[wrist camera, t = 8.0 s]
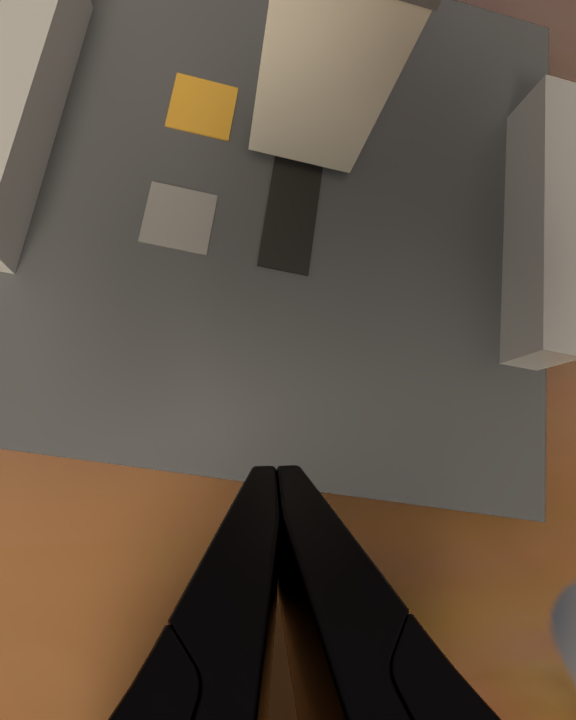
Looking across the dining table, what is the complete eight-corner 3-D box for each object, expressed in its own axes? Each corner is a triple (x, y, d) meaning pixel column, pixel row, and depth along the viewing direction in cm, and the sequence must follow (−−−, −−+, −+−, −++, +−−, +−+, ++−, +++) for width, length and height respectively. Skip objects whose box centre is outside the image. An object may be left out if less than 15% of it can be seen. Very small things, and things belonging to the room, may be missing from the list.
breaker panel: (523, 518, 23) (599, 532, 18) (-83, 436, 19) (-170, 429, 14) (531, 49, 29) (589, -23, 25) (81, -81, 25) (56, -193, 21)
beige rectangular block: (351, 175, 23) (449, -15, 14) (245, 150, 22) (274, -67, 13) (357, 119, 23) (455, -96, 14) (256, 94, 23) (290, -150, 14)
